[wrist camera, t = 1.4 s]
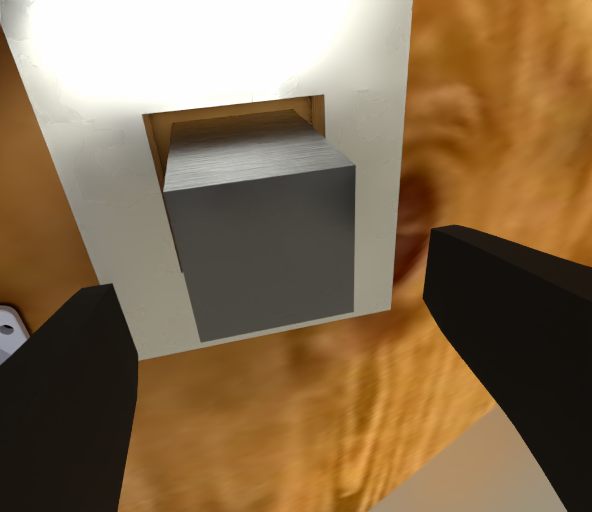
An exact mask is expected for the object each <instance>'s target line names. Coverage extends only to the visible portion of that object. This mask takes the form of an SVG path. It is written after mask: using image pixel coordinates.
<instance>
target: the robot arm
mask: <svg viewBox="0 0 592 512" xmlns="http://www.w3.org/2000/svg"><path fill="white" fill-rule="evenodd" d="M423 300H424V302H425V304H426V305H427V307H428V309H429V311H430V313H431V315H432V316H433V318H434V320H435V321H436V323H437V325H438V326H439V328H440V330H441V331H442V333H443V334H444V336H445V337H446V338H447V340H448V341H449V342H450V343H451V345H452V346H453V347H454V349H455V350H456V351H457V352H458V354H459V355H460V356H461V358H462V359H463V360H464V361H465V363H466V364H467V365H468V367H469V368H470V369H471V370H472V372H473V373H474V374H475V375H476V377H477V378H478V379H479V380H480V382H481V383H482V384H483V385H484V387H485V388H486V389H487V391H488V392H489V393H490V394H491V396H492V397H493V398H494V399H495V401H496V402H497V403H498V404H499V406H500V407H501V408H502V410H503V411H504V412H505V414H506V415H507V417H508V418H509V419H510V421H511V422H512V423H513V425H514V426H515V428H516V429H517V431H518V432H519V434H520V435H521V437H522V439H523V440H524V442H525V443H526V445H527V446H528V448H529V449H530V451H531V453H532V454H533V456H534V457H535V459H536V460H537V462H538V464H539V465H540V467H541V468H542V470H543V472H544V473H545V475H546V476H547V478H548V480H549V482H550V483H551V485H552V487H553V488H554V490H555V492H556V493H557V495H558V497H559V498H560V500H561V501H562V503H563V505H564V507H565V508H566V510H567V512H592V267H589V266H585V265H582V264H578V263H575V262H572V261H569V260H566V259H563V258H559V257H556V256H553V255H550V254H547V253H544V252H541V251H538V250H535V249H532V248H529V247H526V246H523V245H520V244H518V243H515V242H512V241H509V240H506V239H503V238H500V237H497V236H494V235H491V234H488V233H485V232H481V231H478V230H475V229H471V228H468V227H464V226H459V225H449V226H444V227H438V228H432V229H431V234H430V242H429V250H428V258H427V267H426V275H425V283H424V291H423ZM3 325H9V326H11V327H12V328H13V329H8V328H6V327H4V326H3ZM137 387H138V352H137V349H136V347H135V344H134V341H133V338H132V336H131V333H130V330H129V327H128V325H127V322H126V319H125V316H124V313H123V311H122V308H121V305H120V302H119V300H118V297H117V294H116V291H115V289H114V286H113V283H110V284H104V285H98V286H92V287H86V288H82V289H80V290H79V291H78V292H77V293H75V294H74V295H73V296H72V297H71V298H70V299H69V300H68V301H67V302H66V303H65V304H64V305H63V306H62V307H60V308H59V309H58V310H57V311H56V312H55V313H54V314H53V315H52V316H51V317H50V318H49V319H48V320H47V321H46V322H45V323H44V324H43V325H42V326H41V327H40V328H39V329H38V330H37V331H36V332H35V333H34V334H33V335H32V336H31V337H30V335H29V334H28V332H27V330H26V328H25V326H24V324H23V322H22V320H21V319H20V317H19V315H18V313H17V312H16V311H15V309H13V308H11V307H9V306H5V305H4V306H0V512H117V511H118V504H119V499H120V493H121V487H122V482H123V476H124V470H125V465H126V459H127V453H128V448H129V442H130V436H131V431H132V425H133V419H134V413H135V407H136V401H137Z"/></svg>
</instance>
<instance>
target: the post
mask: <svg viewBox="0 0 592 512" xmlns="http://www.w3.org/2000/svg"><path fill="white" fill-rule="evenodd" d="M355 185H356V165H355V164H354V163H353V162H352V161H351V160H349V159H348V158H347V157H346V156H345V155H344V154H343V153H342V152H340V151H339V150H338V149H337V148H336V147H335V146H334V145H332V144H331V143H330V142H329V141H328V140H327V139H326V138H324V137H323V136H322V135H321V134H320V133H319V132H318V131H317V130H315V129H314V128H313V127H312V126H311V125H310V124H309V123H307V122H306V121H305V120H304V119H303V118H302V117H301V116H299V115H298V114H297V113H296V112H295V111H294V110H293V109H292V110H283V111H274V112H265V113H257V114H248V115H239V116H230V117H222V118H213V119H204V120H196V121H187V122H178V123H173V125H172V132H171V140H170V147H169V154H168V161H167V169H166V176H165V183H164V190H163V193H164V197H165V201H166V205H167V209H168V213H169V217H170V221H171V225H172V229H173V233H174V237H175V241H176V245H177V249H178V254H179V258H180V262H181V266H182V270H183V274H184V278H185V282H186V286H187V290H188V294H189V298H190V302H191V306H192V310H193V314H194V318H195V322H196V326H197V330H198V334H199V338H200V342H201V343H202V342H207V341H212V340H217V339H222V338H227V337H232V336H237V335H242V334H247V333H252V332H257V331H262V330H267V329H272V328H277V327H282V326H287V325H292V324H297V323H302V322H307V321H312V320H317V319H322V318H327V317H332V316H337V315H342V314H346V313H351V312H354V261H355Z"/></svg>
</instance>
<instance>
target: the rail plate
mask: <svg viewBox="0 0 592 512" xmlns="http://www.w3.org/2000/svg"><path fill="white" fill-rule="evenodd" d="M412 4H413V0H0V23H1V26H2V29H3V31H4V34H5V36H6V39H7V42H8V44H9V47H10V50H11V52H12V55H13V57H14V60H15V63H16V65H17V68H18V71H19V73H20V76H21V78H22V81H23V84H24V86H25V89H26V92H27V94H28V97H29V99H30V102H31V105H32V107H33V110H34V113H35V115H36V118H37V120H38V123H39V126H40V128H41V131H42V134H43V136H44V139H45V142H46V144H47V147H48V149H49V152H50V155H51V157H52V160H53V163H54V165H55V168H56V170H57V173H58V176H59V178H60V181H61V184H62V186H63V189H64V191H65V194H66V197H67V199H68V202H69V205H70V207H71V210H72V212H73V215H74V218H75V220H76V223H77V226H78V228H79V231H80V233H81V236H82V239H83V241H84V244H85V247H86V249H87V252H88V254H89V257H90V260H91V262H92V265H93V268H94V270H95V273H96V275H97V278H98V281H99V283H100V285H104V284H110V283H113V286H114V289H115V291H116V294H117V297H118V300H119V302H120V305H121V308H122V311H123V313H124V316H125V319H126V322H127V325H128V327H129V330H130V333H131V336H132V338H133V341H134V344H135V347H136V349H137V352H138V361H140V360H144V359H149V358H154V357H159V356H164V355H169V354H174V353H179V352H184V351H189V350H194V349H199V348H204V347H208V346H213V345H218V344H223V343H228V342H233V341H238V340H243V339H248V338H253V337H258V336H263V335H267V334H272V333H277V332H282V331H287V330H292V329H297V328H302V327H307V326H312V325H317V324H322V323H327V322H331V321H336V320H341V319H346V318H351V317H356V316H361V315H366V314H371V313H376V312H381V311H386V310H390V309H391V297H392V283H393V269H394V255H395V241H396V227H397V213H398V199H399V185H400V171H401V157H402V143H403V129H404V115H405V101H406V87H407V73H408V59H409V45H410V31H411V18H412ZM304 96H311V101H312V125H313V128H314V129H315V130H317V131H318V132H319V133H320V134H321V135H322V136H323V137H324V138H326V139H327V140H328V141H329V142H330V143H331V144H332V145H334V146H335V147H336V148H337V149H338V150H339V151H340V152H342V153H343V154H344V155H345V156H346V157H347V158H348V159H349V160H351V161H352V162H353V163H354V164H355V165H356V185H355V261H354V312H351V313H346V314H342V315H337V316H332V317H327V318H322V319H317V320H312V321H307V322H302V323H297V324H292V325H287V326H282V327H277V328H272V329H267V330H262V331H257V332H252V333H247V334H242V335H237V336H232V337H227V338H222V339H217V340H212V341H207V342H202V343H201V342H200V338H199V334H198V330H197V326H196V322H195V318H194V314H193V310H192V306H191V302H190V298H189V294H188V290H187V286H186V282H185V278H184V274H183V270H182V266H181V262H180V258H179V254H178V249H177V245H176V241H175V237H174V233H173V229H172V225H171V221H170V217H169V213H168V209H167V205H166V201H165V197H164V193H163V190H164V183H165V179H164V175H163V171H162V167H161V163H160V159H159V154H158V150H157V146H156V142H155V138H154V134H153V130H152V125H151V121H150V117H149V113H158V112H167V111H176V110H185V109H195V108H204V107H213V106H222V105H231V104H240V103H249V102H258V101H267V100H277V99H286V98H295V97H304Z"/></svg>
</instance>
